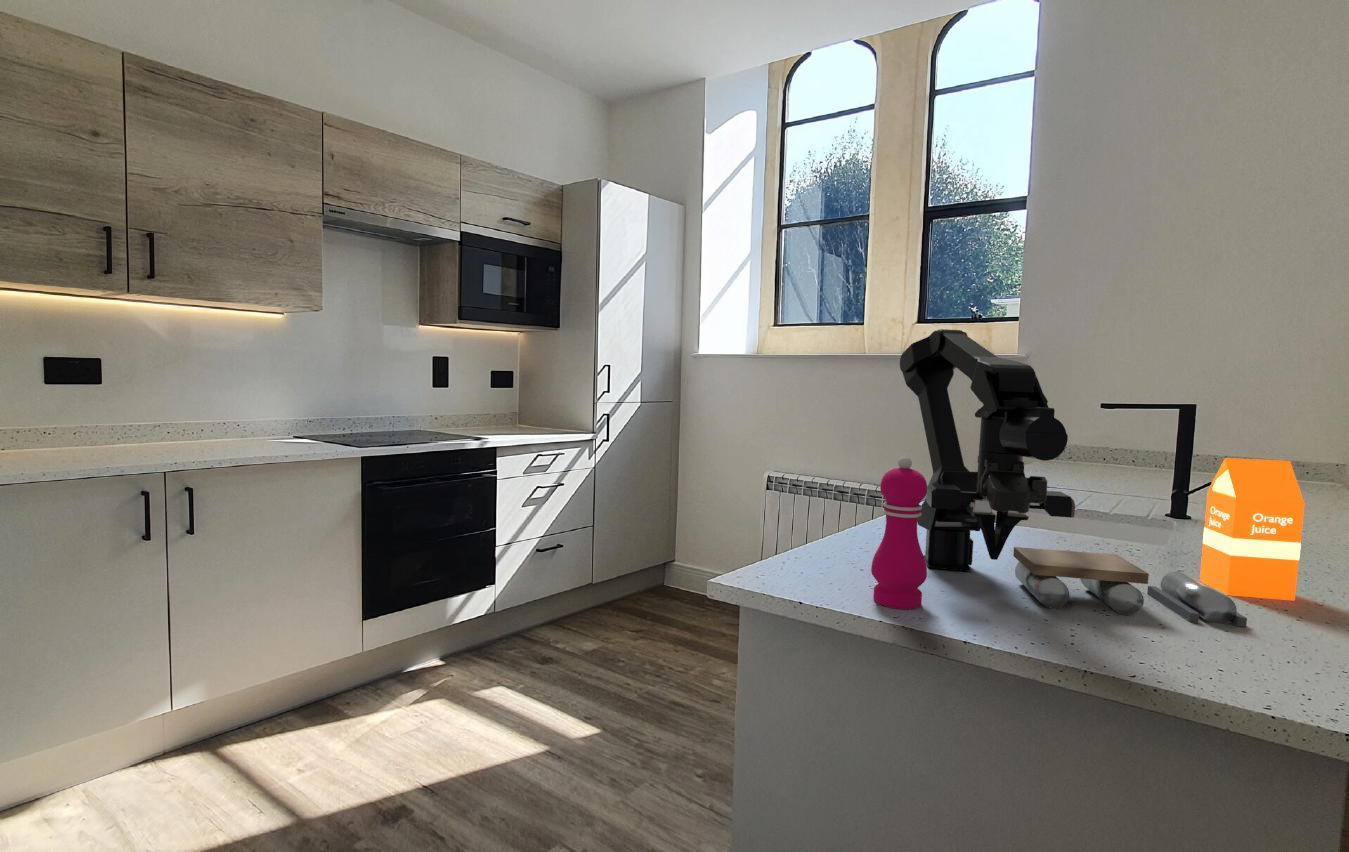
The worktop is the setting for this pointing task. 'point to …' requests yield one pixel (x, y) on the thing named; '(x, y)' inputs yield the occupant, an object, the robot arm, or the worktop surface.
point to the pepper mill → (900, 540)
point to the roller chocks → (1186, 607)
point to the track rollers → (1111, 592)
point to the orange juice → (1253, 529)
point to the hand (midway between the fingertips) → (993, 558)
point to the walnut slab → (1079, 565)
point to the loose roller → (1199, 598)
